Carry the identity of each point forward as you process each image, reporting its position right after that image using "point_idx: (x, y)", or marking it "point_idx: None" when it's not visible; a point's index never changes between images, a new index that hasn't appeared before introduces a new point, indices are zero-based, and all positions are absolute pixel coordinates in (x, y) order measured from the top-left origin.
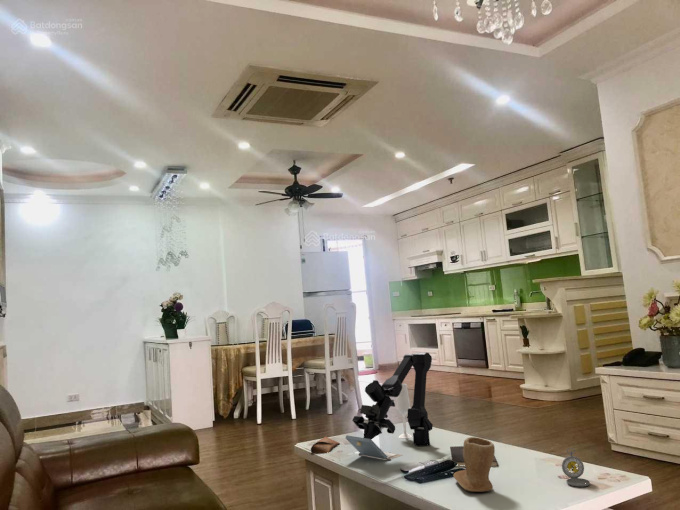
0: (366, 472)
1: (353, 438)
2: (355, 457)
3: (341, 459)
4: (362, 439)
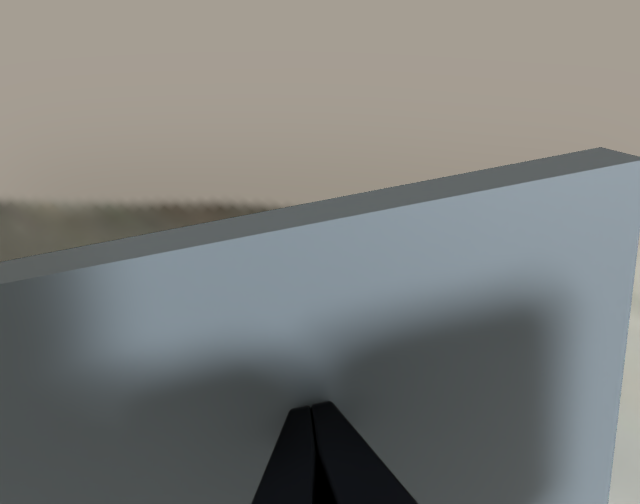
0: (66, 242)
1: (386, 192)
2: (631, 496)
3: (637, 322)
4: (128, 245)
